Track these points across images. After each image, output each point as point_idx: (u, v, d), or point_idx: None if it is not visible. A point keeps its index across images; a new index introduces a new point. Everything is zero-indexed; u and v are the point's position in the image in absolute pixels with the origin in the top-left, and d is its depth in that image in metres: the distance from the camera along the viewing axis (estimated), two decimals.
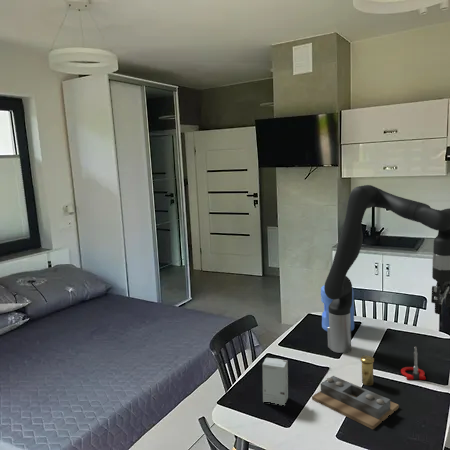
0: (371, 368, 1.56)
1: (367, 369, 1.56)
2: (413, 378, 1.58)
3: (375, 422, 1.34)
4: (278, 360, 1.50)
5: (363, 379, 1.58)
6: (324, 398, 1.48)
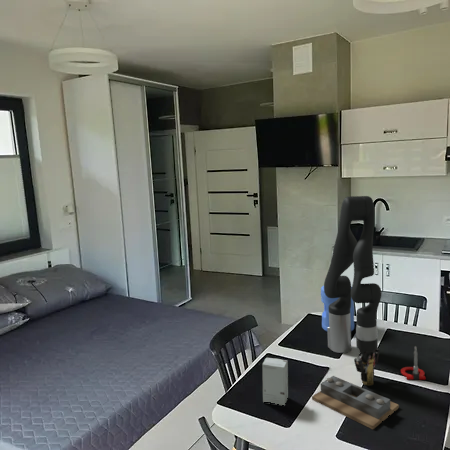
0: (371, 368, 1.56)
1: (367, 369, 1.56)
2: (413, 378, 1.58)
3: (375, 422, 1.34)
4: (278, 360, 1.50)
5: None
6: (324, 398, 1.48)
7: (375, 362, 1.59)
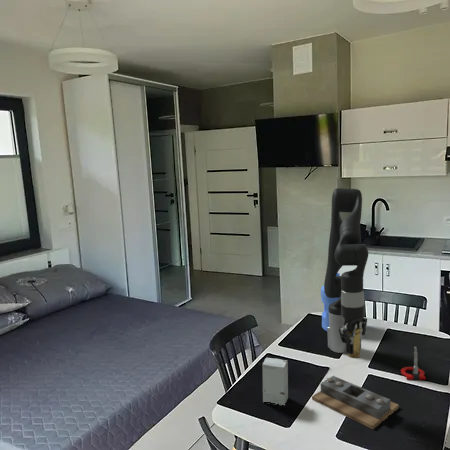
0: (358, 339, 1.41)
1: (353, 340, 1.40)
2: (413, 378, 1.58)
3: (375, 422, 1.34)
4: (278, 360, 1.50)
5: None
6: (324, 398, 1.48)
7: (362, 333, 1.44)
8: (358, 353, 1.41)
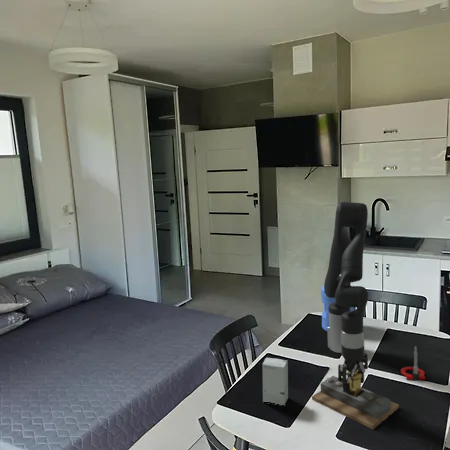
0: (358, 384, 1.44)
1: (354, 385, 1.43)
2: (413, 378, 1.58)
3: (375, 422, 1.34)
4: (278, 360, 1.51)
5: None
6: (324, 398, 1.48)
7: (365, 367, 1.47)
8: None
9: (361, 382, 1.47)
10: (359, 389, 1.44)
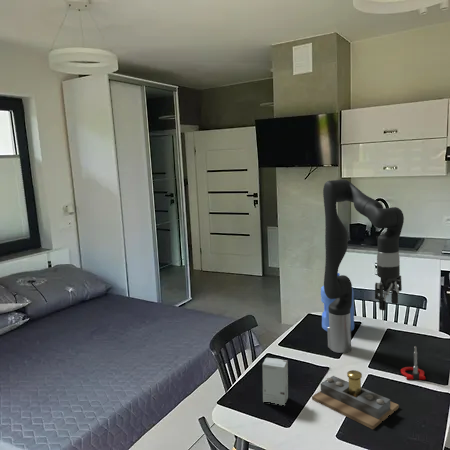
0: (358, 384, 1.44)
1: (354, 385, 1.43)
2: (413, 378, 1.58)
3: (375, 422, 1.34)
4: (278, 360, 1.50)
5: None
6: (324, 398, 1.48)
7: (399, 289, 1.55)
8: None
9: (395, 303, 1.55)
10: (359, 389, 1.44)
